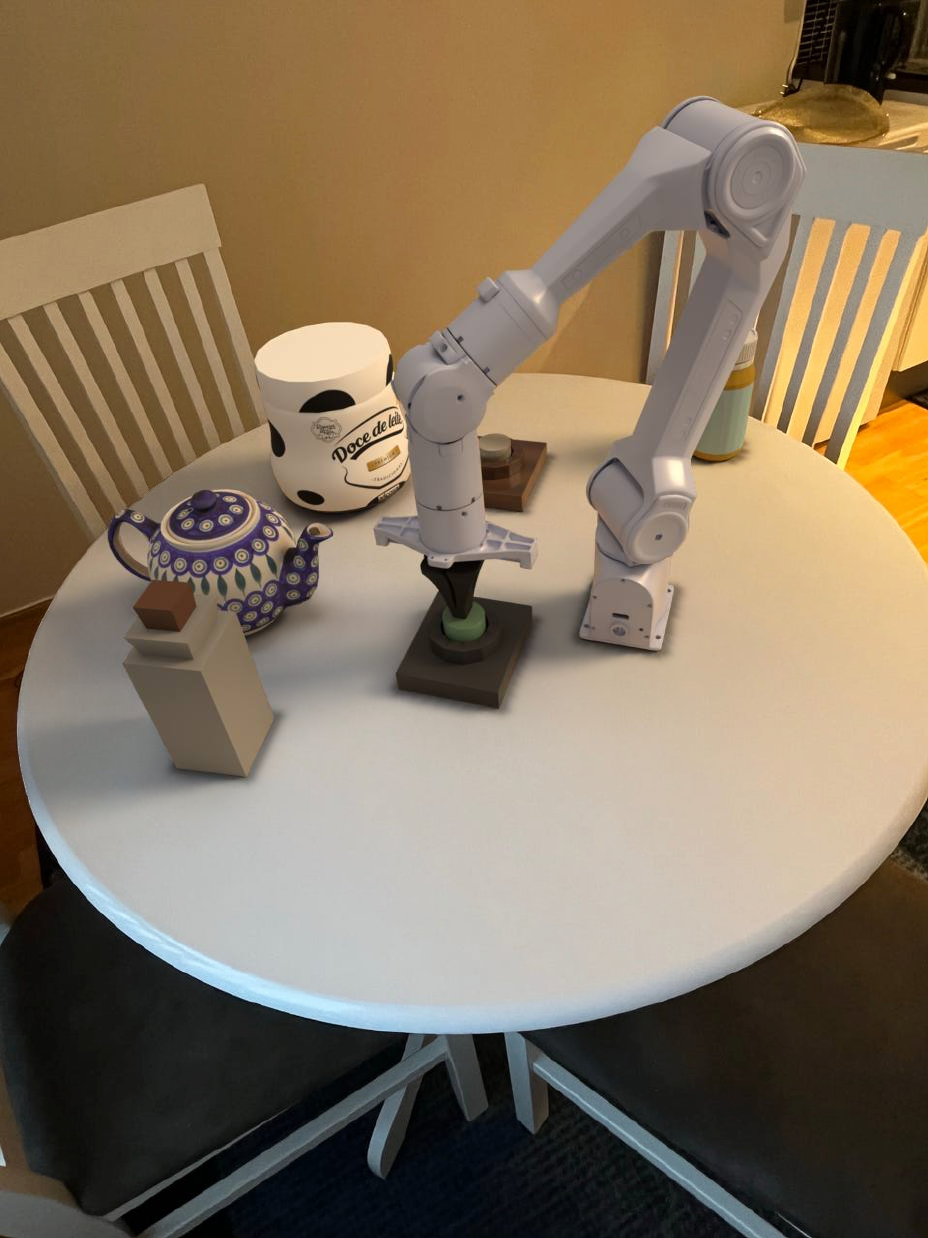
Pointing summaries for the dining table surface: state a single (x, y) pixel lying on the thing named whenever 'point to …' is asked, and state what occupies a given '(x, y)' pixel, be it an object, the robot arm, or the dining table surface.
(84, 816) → the dining table surface
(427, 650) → the push button front
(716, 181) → the robot arm
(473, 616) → the green button cap
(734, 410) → the bottle
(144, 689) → the perfume bottle
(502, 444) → the grey button cap
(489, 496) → the push button back
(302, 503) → the doce de leite jar
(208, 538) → the teapot
